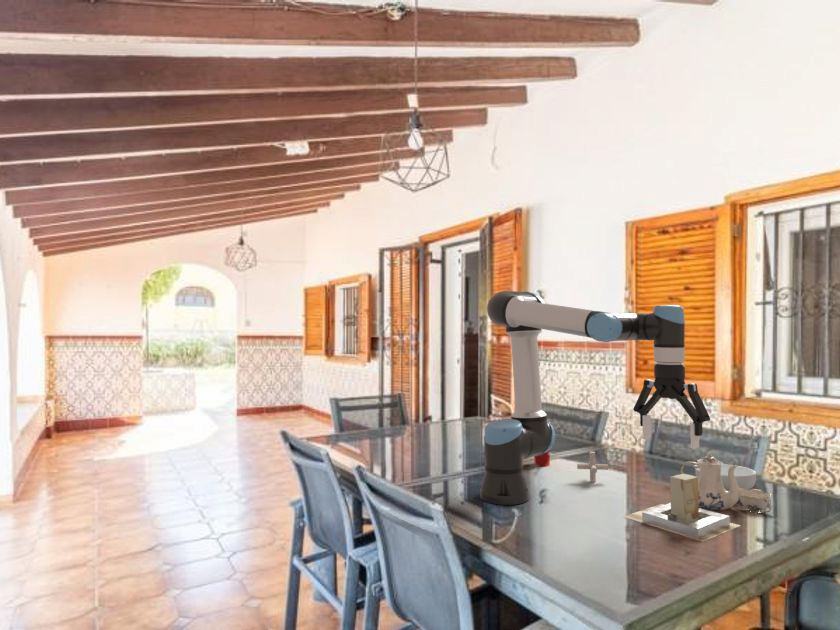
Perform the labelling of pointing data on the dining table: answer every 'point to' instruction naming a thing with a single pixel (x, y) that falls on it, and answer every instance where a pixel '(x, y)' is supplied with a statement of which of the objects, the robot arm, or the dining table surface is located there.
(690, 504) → the skincare box
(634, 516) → the board
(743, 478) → the cereal bowl
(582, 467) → the pipe connector
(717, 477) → the chinaware
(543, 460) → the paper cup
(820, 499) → the dining table surface
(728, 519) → the white square frame
